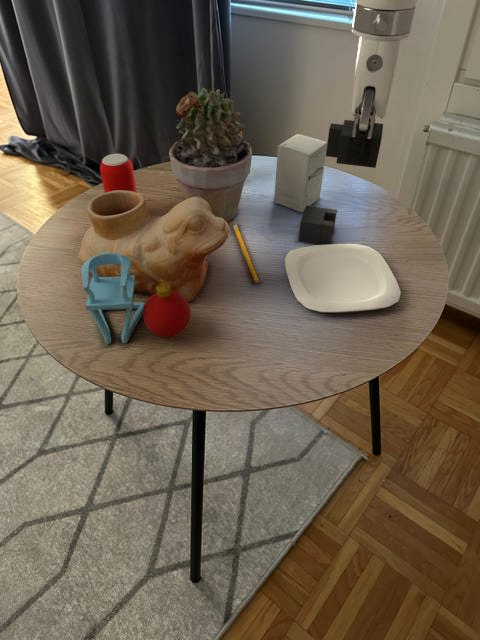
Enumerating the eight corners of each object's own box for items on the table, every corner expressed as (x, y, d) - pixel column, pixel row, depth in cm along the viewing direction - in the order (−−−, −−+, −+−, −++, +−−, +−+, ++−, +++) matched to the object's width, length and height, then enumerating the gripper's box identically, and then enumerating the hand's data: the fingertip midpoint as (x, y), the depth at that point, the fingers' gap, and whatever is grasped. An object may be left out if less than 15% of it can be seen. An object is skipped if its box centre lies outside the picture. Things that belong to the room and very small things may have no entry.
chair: (90, 345, 73) (71, 284, 64) (97, 308, 79) (80, 247, 70) (142, 342, 73) (130, 280, 65) (145, 305, 79) (134, 245, 71)
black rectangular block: (377, 151, 78) (383, 123, 75) (375, 168, 74) (381, 139, 71) (328, 145, 80) (332, 118, 77) (323, 162, 75) (327, 133, 72)
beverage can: (104, 220, 97) (92, 164, 89) (116, 205, 102) (106, 150, 94) (133, 224, 96) (123, 167, 88) (144, 208, 101) (136, 153, 93)
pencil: (236, 225, 96) (236, 222, 96) (258, 282, 84) (258, 279, 83) (232, 226, 96) (232, 223, 96) (254, 283, 83) (254, 279, 83)
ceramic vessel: (218, 313, 78) (215, 234, 67) (69, 288, 82) (45, 211, 72) (238, 262, 88) (238, 187, 77) (104, 243, 92) (87, 168, 81)
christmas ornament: (136, 336, 74) (126, 285, 67) (164, 309, 78) (157, 259, 72) (174, 353, 72) (167, 303, 65) (201, 324, 76) (197, 274, 69)
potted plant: (261, 188, 107) (265, 66, 90) (253, 238, 93) (257, 104, 76) (180, 183, 109) (170, 62, 91) (161, 232, 95) (144, 100, 77)
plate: (373, 248, 91) (375, 240, 90) (408, 313, 78) (411, 305, 77) (278, 254, 89) (279, 246, 88) (298, 321, 76) (299, 314, 75)
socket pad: (333, 229, 95) (337, 209, 92) (329, 246, 91) (333, 226, 88) (303, 225, 97) (306, 205, 94) (298, 241, 92) (300, 221, 89)
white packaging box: (302, 213, 100) (309, 154, 91) (273, 202, 103) (276, 144, 94) (320, 199, 104) (328, 141, 95) (291, 188, 107) (296, 132, 98)
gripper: (411, 40, 57) (380, 181, 69) (412, 8, 69) (385, 133, 82) (347, 35, 58) (328, 174, 71) (358, 5, 70) (340, 128, 83)
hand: (358, 151), depth 76 cm, fingers closed on black rectangular block, 6 cm apart
